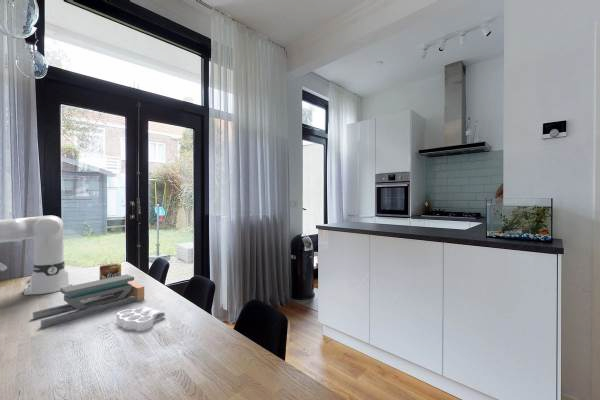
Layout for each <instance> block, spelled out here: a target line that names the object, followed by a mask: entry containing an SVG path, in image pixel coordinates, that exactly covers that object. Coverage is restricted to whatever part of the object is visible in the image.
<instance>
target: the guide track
mask: <svg viewBox="0 0 600 400" xmlns="http://www.w3.org/2000/svg"><path fill="white" fill-rule="evenodd" d="M111 294H112V293H110V294H106V295H102V296H98V297H94V298H90V299H86V300H82V301H80V302H84V301H88V300H92V299H96V298H100V297H104V296H108V295H111ZM135 302H139V301H138V296H137V295H134V296H130V297H128V296H126V297H124V298H123V299H119V300H115V301H112V302H108V303H104V304H101V305H97V306H93V307H89V308H86V309H82V310H79V309H78V310H76V309H77V308H75V307H73V306H71V305H69V304H68V303H65V304H61V305H57V306H54V307H50V308H46V309H42V310H36V311H34V312H32V319H33V320H38V319H41V320H40V328H41V329H45V328H48V327H52V326H55V325H58V324H63V323H65V322H70V321H72V320H75V319H80V318H82V317H86V316H89V315H90V316H91V315H93V314H97V313H100V312H103V311H107V310H109V309H110V310H111V309H114V308H117V307H122V306H124V305H128V304H131V303H135ZM71 310H75V311H71ZM68 311H70V312H68ZM63 312H64V314H60V313H63ZM65 312H68V313H65ZM56 314H60V315H57V316H53V315H56ZM50 316H53V317H50ZM45 317H49V318H45ZM42 318H45V319H43V320H42Z"/></svg>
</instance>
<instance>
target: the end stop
mask: <svg viewBox="0 0 600 400" xmlns="http://www.w3.org/2000/svg"><path fill="white" fill-rule="evenodd" d="M128 283H129V284H131V285H132V289H131V290H130V292H129V293H128V294H127V295H126V296H125V297H130V296H134V295H137V296H138V301H137V302H139V301H142V300H145V286H144V285H142V284H139V283H136V282H134V281H129V282H128Z"/></svg>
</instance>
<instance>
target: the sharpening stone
mask: <svg viewBox="0 0 600 400" xmlns="http://www.w3.org/2000/svg"><path fill="white" fill-rule="evenodd" d="M130 281H132V282H134V281H135V276H133V275H130V274H123V275H122V274H121V276H117V277H112V278H107V279H102V280H100V279H99V280H98V279H97V280H94V281H87V282H84V283H79V284H72V286H68V287H63V288H60V291H59V292H60V293H62V294H63V301H64V302H65V303H66V304H69V305H71V306H73V307H75V308H76V309H78V310H82V309H86V308H89V307H93V306H97V305H101V304H104V303H108V302H112V301H115V300H119V299H123V298H126V297H127V296H126V295H127V294H128V293H129V292H130V290H131V289H132V285H131V284H129V283H128V282H130ZM110 293H112V294H111V295H108V296H104V297H100V298H96V299H92V300H88V301H84V302H80V301H82V300H86V299H90V298H94V297H98V296H102V295H106V294H110Z"/></svg>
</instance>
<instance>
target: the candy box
mask: <svg viewBox="0 0 600 400" xmlns="http://www.w3.org/2000/svg"><path fill="white" fill-rule="evenodd" d="M117 276H122V262H117V263H115V262H114V263H108V264H100V265H99V276H98V277H99V280H102V279H107V278H112V277H117Z"/></svg>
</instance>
